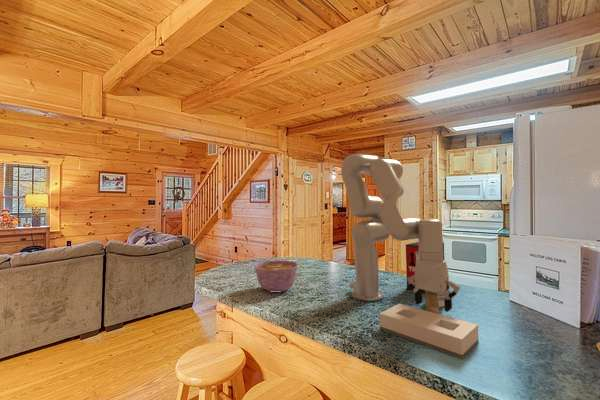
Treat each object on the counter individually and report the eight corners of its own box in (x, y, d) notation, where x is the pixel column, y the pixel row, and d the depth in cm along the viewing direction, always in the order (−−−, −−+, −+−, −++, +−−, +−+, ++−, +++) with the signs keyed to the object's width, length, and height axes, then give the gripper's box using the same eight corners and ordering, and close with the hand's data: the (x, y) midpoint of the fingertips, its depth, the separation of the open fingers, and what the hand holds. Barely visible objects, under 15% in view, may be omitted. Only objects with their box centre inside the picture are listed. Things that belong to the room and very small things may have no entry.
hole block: (462, 359, 74) (461, 339, 74) (380, 329, 92) (379, 313, 92) (478, 342, 82) (478, 324, 82) (399, 318, 100) (399, 303, 100)
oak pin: (423, 318, 99) (423, 292, 99) (429, 315, 102) (428, 289, 102) (435, 322, 96) (435, 295, 96) (441, 318, 99) (440, 292, 99)
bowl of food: (246, 290, 136) (246, 265, 136) (280, 281, 149) (280, 258, 149) (272, 300, 121) (271, 272, 121) (307, 289, 134) (307, 264, 134)
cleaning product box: (425, 293, 124) (424, 246, 124) (406, 289, 131) (405, 244, 131) (445, 285, 134) (443, 242, 134) (426, 281, 141) (425, 240, 141)
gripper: (401, 254, 103) (403, 303, 102) (453, 261, 90) (455, 317, 89) (412, 251, 108) (413, 298, 107) (462, 257, 95) (464, 310, 94)
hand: (432, 306), depth 98 cm, fingers open, 9 cm apart
